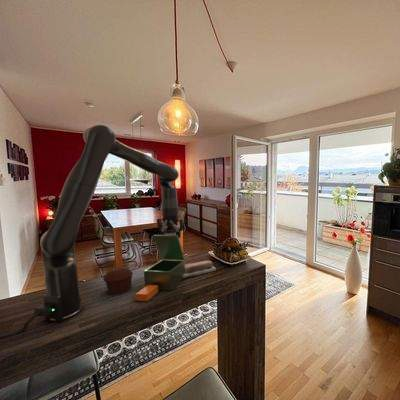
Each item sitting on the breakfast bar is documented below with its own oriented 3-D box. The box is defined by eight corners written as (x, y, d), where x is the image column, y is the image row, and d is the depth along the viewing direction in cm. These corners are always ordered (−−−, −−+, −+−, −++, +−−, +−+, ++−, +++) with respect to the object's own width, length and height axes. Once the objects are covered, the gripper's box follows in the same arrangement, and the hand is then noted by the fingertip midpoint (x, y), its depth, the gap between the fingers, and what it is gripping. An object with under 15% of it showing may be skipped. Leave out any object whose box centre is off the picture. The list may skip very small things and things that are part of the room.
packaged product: (182, 269, 116) (177, 263, 124) (183, 278, 116) (178, 272, 124) (216, 262, 126) (209, 257, 134) (216, 271, 126) (209, 265, 135)
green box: (170, 290, 105) (169, 272, 104) (145, 288, 106) (143, 270, 105) (185, 276, 119) (184, 260, 118) (162, 275, 121) (162, 259, 120)
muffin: (138, 283, 112) (137, 263, 111) (126, 294, 101) (124, 273, 100) (113, 284, 111) (111, 264, 110) (98, 296, 100) (96, 274, 99)
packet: (158, 291, 104) (158, 285, 103) (147, 301, 96) (146, 294, 95) (148, 291, 104) (147, 284, 104) (136, 300, 96) (135, 293, 96)
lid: (177, 236, 111) (181, 230, 115) (153, 235, 112) (158, 230, 116) (184, 260, 118) (187, 254, 122) (161, 259, 119) (165, 253, 123)
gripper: (152, 207, 113) (154, 240, 115) (179, 207, 111) (181, 240, 113) (161, 205, 120) (162, 236, 122) (186, 205, 118) (188, 236, 120)
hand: (171, 238), depth 117 cm, fingers open, 7 cm apart
